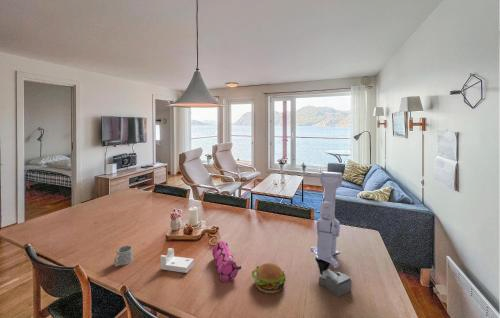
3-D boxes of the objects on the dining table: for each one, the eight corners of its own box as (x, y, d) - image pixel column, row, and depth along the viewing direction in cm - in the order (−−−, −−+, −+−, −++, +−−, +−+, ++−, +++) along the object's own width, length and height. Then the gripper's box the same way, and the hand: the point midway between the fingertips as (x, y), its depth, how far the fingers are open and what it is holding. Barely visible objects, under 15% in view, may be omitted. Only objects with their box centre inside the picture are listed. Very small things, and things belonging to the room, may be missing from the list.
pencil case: (241, 279, 102) (241, 258, 100) (220, 285, 98) (219, 263, 97) (228, 254, 121) (228, 236, 120) (210, 258, 118) (209, 240, 117)
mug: (124, 257, 120) (123, 244, 119) (136, 258, 118) (135, 246, 117) (109, 268, 110) (108, 255, 109) (121, 270, 109) (120, 257, 108)
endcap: (317, 283, 99) (318, 271, 98) (334, 276, 104) (335, 265, 103) (335, 298, 91) (336, 285, 90) (353, 289, 95) (353, 277, 94)
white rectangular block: (322, 279, 101) (322, 271, 101) (328, 277, 103) (328, 269, 102) (338, 292, 93) (339, 283, 93) (344, 290, 95) (345, 281, 94)
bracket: (161, 271, 108) (160, 256, 107) (169, 262, 115) (169, 248, 114) (187, 274, 105) (186, 259, 104) (194, 265, 112) (193, 251, 111)
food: (252, 273, 106) (252, 257, 105) (283, 274, 105) (283, 258, 104) (251, 295, 92) (251, 277, 91) (286, 296, 92) (287, 278, 90)
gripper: (305, 240, 106) (304, 267, 108) (330, 255, 93) (328, 286, 95) (317, 236, 109) (316, 263, 111) (342, 251, 96) (340, 281, 98)
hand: (322, 273), depth 103 cm, fingers closed
